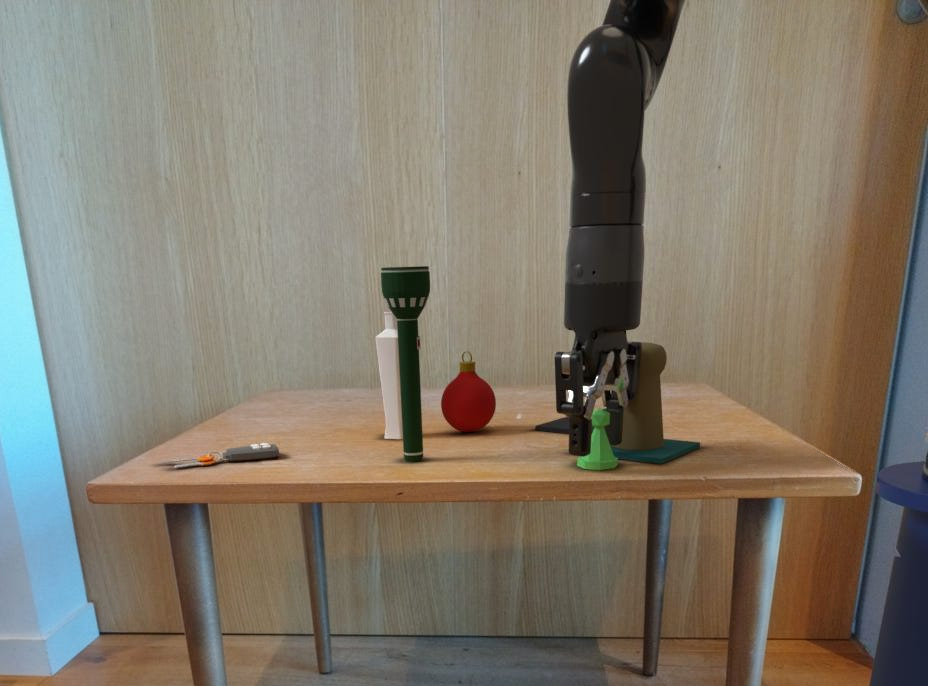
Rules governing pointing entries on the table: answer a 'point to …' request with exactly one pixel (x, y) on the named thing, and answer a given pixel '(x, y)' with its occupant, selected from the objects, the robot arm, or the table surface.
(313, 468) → the table surface
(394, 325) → the perfume bottle
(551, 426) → the charcoal pad
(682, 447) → the teal pad
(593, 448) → the game piece
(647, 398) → the cork
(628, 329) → the robot arm
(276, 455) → the key chain
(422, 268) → the flashlight
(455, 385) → the christmas ornament
